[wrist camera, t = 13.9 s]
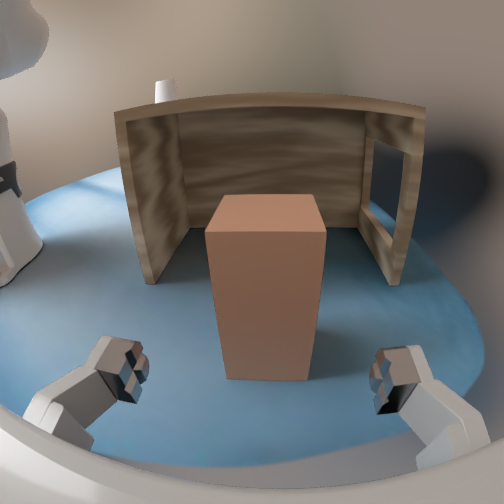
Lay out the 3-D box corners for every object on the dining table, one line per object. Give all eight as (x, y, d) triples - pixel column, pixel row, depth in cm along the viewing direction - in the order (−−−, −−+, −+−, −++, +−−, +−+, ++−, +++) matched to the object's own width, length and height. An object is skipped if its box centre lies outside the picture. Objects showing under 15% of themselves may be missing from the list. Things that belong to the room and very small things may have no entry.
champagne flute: (178, 170, 71) (170, 82, 60) (192, 173, 67) (184, 78, 55) (156, 177, 67) (147, 84, 55) (168, 179, 63) (159, 79, 51)
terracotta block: (307, 380, 16) (326, 231, 11) (226, 378, 17) (204, 231, 12) (303, 326, 20) (312, 194, 16) (236, 325, 21) (224, 195, 16)
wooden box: (398, 285, 24) (425, 107, 16) (145, 283, 26) (113, 112, 18) (362, 224, 36) (370, 104, 28) (185, 224, 38) (172, 107, 31)
